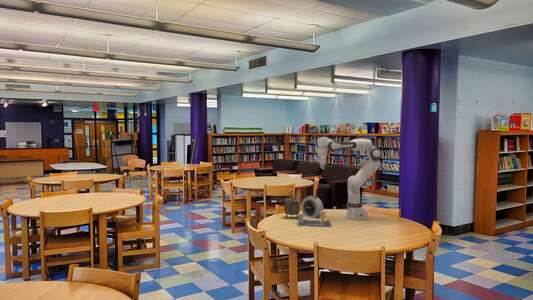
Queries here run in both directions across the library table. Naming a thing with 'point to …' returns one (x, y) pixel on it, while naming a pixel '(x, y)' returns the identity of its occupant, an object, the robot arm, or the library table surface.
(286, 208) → the tabletop clock
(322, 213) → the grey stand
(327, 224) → the gauge bed
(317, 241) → the library table surface
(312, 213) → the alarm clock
